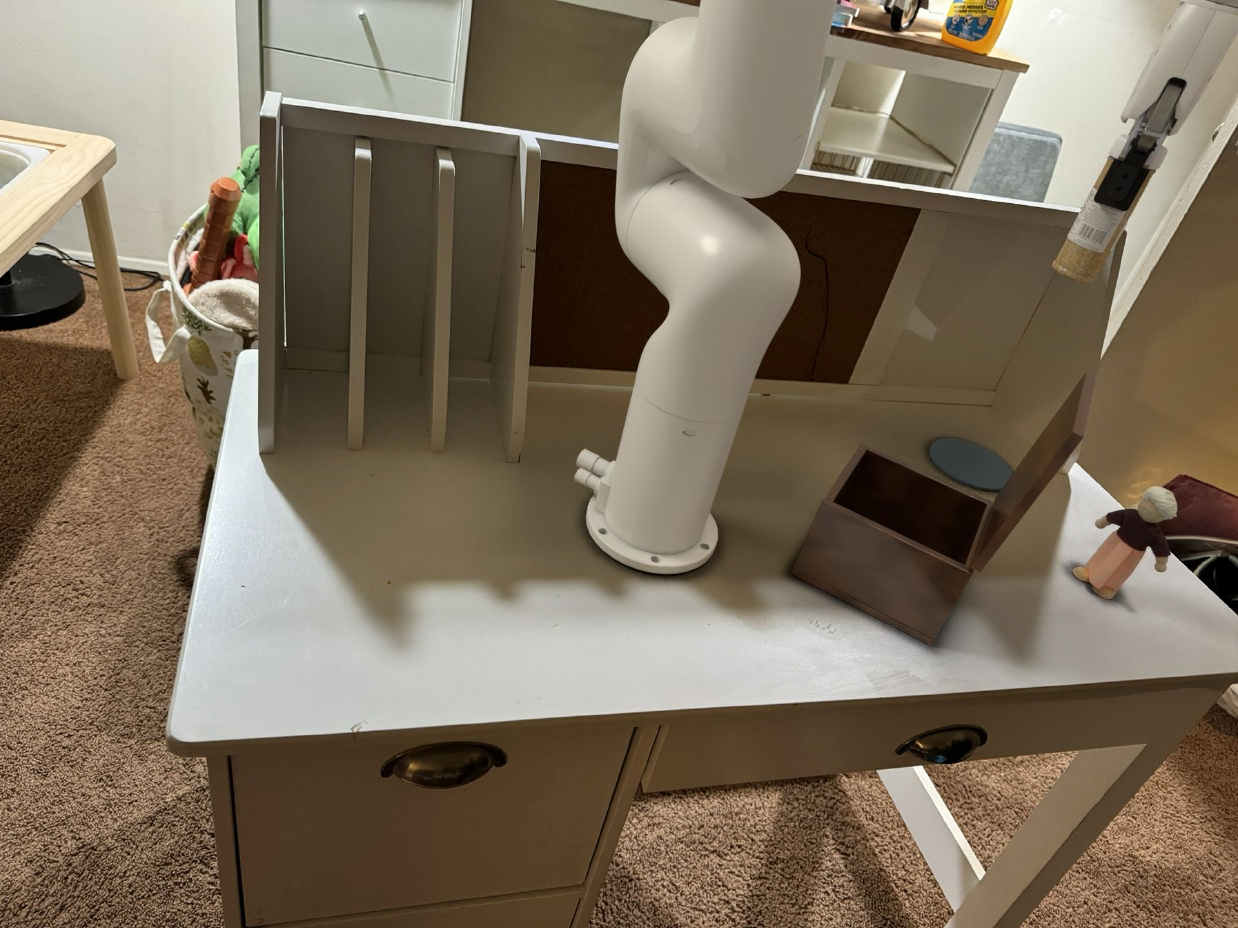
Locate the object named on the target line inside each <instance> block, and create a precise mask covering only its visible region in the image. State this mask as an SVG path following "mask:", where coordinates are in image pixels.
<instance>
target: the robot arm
mask: <svg viewBox="0 0 1238 928" xmlns="http://www.w3.org/2000/svg"><path fill="white" fill-rule="evenodd" d="M1177 1H1178V2H1180V3H1179V5H1178V7H1176V10H1175V11H1174V13H1173V15H1172V17H1171V18H1170V20H1169V22H1168V23H1167V25H1166V26H1165V29H1164V30H1163V32H1162V33H1161V36H1160V37H1159V40H1158V41H1157V43H1156V45H1155V47H1154V49H1153V50H1152V53H1151V54H1150V57H1149V58H1148V60H1147V62H1146V64H1145V66H1144V68H1143V71H1142V72H1141V73H1140V76H1139V77H1138V80H1137V82H1136V83H1135V86H1134V88H1133V90H1132V92H1131V94H1130V96H1129V98H1128V100H1127V102H1126V103H1125V106H1124V107H1123V110H1122V112H1121V115H1120V120H1121V122H1122V123H1123V124H1126V123H1127V122H1128V121H1129V119H1131V120H1134V122H1133V125H1132V127H1131V129H1130V131H1129V132H1128V133H1127V135H1130V136H1129V138H1128V140H1127V141H1126V143H1125V145H1124V147H1123V149H1122V151H1121V153H1120V155H1119V157H1118V159H1116V158H1114V160H1113V162H1112V164H1111V166H1110V168H1109V169H1108V171H1107V173H1106V175H1105V177H1104V179H1103V181H1102V183H1101V185H1100V187H1099V188H1098V190H1097V192H1096V194H1095V196H1094V201H1095V202H1097V203H1100V204H1103V205H1106V206H1109V207H1112V208H1115V209H1118V210H1121V211H1127V210H1128V209H1129V208H1130V206H1131V204H1132V202H1133V201H1134V199H1135V197H1136V195H1137V193H1138V192H1139V190H1140V188H1141V186H1142V184H1143V183H1144V181H1145V179H1146V177H1147V175H1148V174H1149V172H1150V169H1149V167H1150V165H1151V163H1152V162H1153V160H1154V158H1155V156H1156V154H1157V152H1158V150H1159V148H1160V147H1161V145H1162V146H1163V143H1164V141H1165V139H1167V137H1172V136H1175V135H1177V134H1178V132H1179V131H1180V130H1181V128H1182V127H1183V125H1184V123H1185V122H1186V121H1187V119H1188V118H1189V116H1190V115H1191V113H1192V111H1194V108H1195V107H1196V106H1197V103H1198V102H1199V100H1200V99H1201V97H1202V95H1203V94H1204V93H1205V91H1206V89H1207V87H1209V84H1210V83H1211V81H1212V80H1213V78H1214V76H1215V74H1216V72H1217V70H1218V69H1219V67H1220V65H1221V64H1222V62H1223V60H1224V58H1225V57H1226V55H1227V53H1228V52H1229V50H1230V48H1231V47H1232V44H1233V43H1234V41H1235V39H1236V37H1237V36H1238V0H1177ZM837 4H838V0H700V4H699V9H698V15H697V16H683V17H678V18H675V19H672V20H670V21H668V22H666V23H664V24H662V25H661V26H659V27H658V28H656V29H655V30H654V31H653V32H651V33H650V35H649V36H647V38H646V39H645V40H644V42H643V43H642V44H641V46H640V47H639V48H638V50H637V52H636V53H635V55H634V57H633V59H632V61H631V63H630V66H629V69H628V71H627V75H626V77H625V80H624V85H623V88H622V94H621V102H620V104H621V105H620V114H619V131H618V144H617V145H618V148H617V163H616V165H617V166H616V179H615V180H616V181H615V199H614V200H615V202H614V218H615V228H616V229H615V230H616V235H617V238H618V243H619V245H620V247H621V249H622V251H623V253H624V254H625V256H626V257H627V259H628V260H629V261H630V262H631V263H632V264H633V266H634V267H635V268H637V270H638V271H639V272H640V273H641V274H642V275H644V276H645V278H646V279H648V280H649V281H650V282H651V284H653V285H654V286H655V287H656V288H657V290H658V291H659V292H660V294H662V295H663V296H664V297H665V299H667V301H668V304H669V305H668V306H669V310H668V313H667V316H666V318H665V320H664V321H663V323H662V324H661V325H660V326H659V327H658V328H657V329H656V330H655V331H654V332H653V333H652V334H651V336H650V337H649V339H648V340H647V342H646V344H645V346H644V348H643V351H642V353H641V354H640V359H639V363H638V366H637V370H636V373H635V380H634V384H633V388H632V393H631V397H630V400H629V404H628V408H627V414H626V417H625V422H624V425H623V430H622V434H621V437H620V442H619V446H618V451H617V453H616V454H617V455H616V459H615V460H612V461H609V460H607V459H605V458H602V456H600V455H599V454H597V453H594V452H592V451H590V450H589V449H587V448H584V449H582V450H581V452H580V453H579V455H578V456H577V458H576V461H575V466H576V467H577V468H578V469H577V471H576V472H575V474H574V476H573V480H574V481H575V482H576V483H578V484H580V485H582V486H584V487H587V488H589V489H592V490H593V495H592V496H591V498H590V500H589V502H588V504H587V509H586V514H585V521H586V527H587V530H588V533H589V535H590V537H591V538H592V539H593V541H594V542H595V544H596V545H597V546H598V547H599V548H600V549H601V550H602V551H603V552H605V553H606V554H607V555H608V556H610V557H611V558H612V559H614V560H616V561H617V562H619V563H621V564H623V565H625V566H628V567H630V568H633V569H636V570H637V571H643V572H647V573H650V574H651V573H652V574H660V575H661V574H663V575H672V574H676V575H677V574H680V573H688V572H690V571H692V570H696V569H697V568H699V567H701V566H702V565H704V564H705V563H707V561H709V559H711V557H712V556H713V554H714V552H715V549H716V546H717V544H718V541H719V529H718V525H717V522H716V520H715V518H714V517H713V514H712V513H711V509H712V506H713V504H714V500H715V497H716V494H717V492H718V488H719V486H720V483H721V480H722V477H723V474H724V470H725V468H726V465H727V461H728V459H729V455H730V452H731V450H732V446H733V444H734V441H735V438H736V435H737V431H738V429H739V426H740V423H741V420H742V417H743V413H744V411H745V408H746V404H747V401H748V399H749V395H750V392H751V389H752V386H753V384H754V381H755V378H756V375H757V372H758V370H759V367H760V365H761V364H762V361H763V359H764V356H765V355H766V352H767V350H768V348H769V345H770V344H771V342H772V341H773V338H774V336H775V335H776V333H777V332H778V330H779V328H780V327H781V325H782V323H783V321H784V320H785V318H786V317H787V315H788V313H789V311H790V310H791V307H792V306H793V304H794V301H795V299H796V297H797V295H798V291H799V289H800V283H801V272H802V271H801V263H800V259H799V256H798V252H797V250H796V248H795V245H794V244H793V242H792V240H791V239H790V238H789V236H788V234H786V232H785V231H784V230H783V229H782V228H781V226H780V225H778V224H777V223H776V222H775V221H774V220H773V219H771V217H770V216H768V215H767V214H766V213H764V212H763V211H761V210H760V209H758V208H757V207H756V206H754V205H752V204H751V203H750V202H749V201H747V200H746V199H759V198H760V199H761V198H765V197H769V196H773V195H774V194H776V193H778V192H779V191H780V190H782V189H783V188H784V187H785V186H787V184H789V182H790V181H791V180H792V179H793V177H794V176H795V174H796V173H797V171H798V169H799V167H800V165H801V163H802V161H803V157H804V156H805V152H806V149H807V146H808V142H809V139H810V133H811V128H812V125H813V120H814V115H815V110H816V104H817V99H818V93H819V88H820V85H821V80H822V74H823V70H824V69H823V68H824V64H825V59H826V55H827V48H828V43H829V39H830V34H831V28H832V24H833V20H834V15H835V13H836V8H837ZM1131 145H1132V146H1131ZM1130 147H1131V148H1130ZM1129 149H1130V150H1129ZM1128 151H1129V152H1128ZM1123 160H1124V161H1123ZM744 198H745V199H744Z"/></svg>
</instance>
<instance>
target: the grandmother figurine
mask: <svg viewBox="0 0 1238 928" xmlns="http://www.w3.org/2000/svg"><path fill="white" fill-rule="evenodd" d="M1177 512H1178V503H1177V500H1176V498H1175V493H1173V492H1172V491H1170V490H1169V489H1167V488H1164V487H1163V486H1159V485H1158V486H1157V485H1154V486H1151V487H1148V488H1147V489H1146V490H1145V491H1144V492H1143V493H1142V498H1141V501H1140V502H1139V503H1138V505H1137V509H1136V508H1122V509H1118V510H1113V511H1110V512H1108V513H1107V514H1105V515H1103V516H1102V517H1100V518H1097V519H1096V520H1095V522H1094V526H1095V528H1097V529H1100V530H1103V529H1106V527H1109V526H1111V525H1116V526H1118V528H1117V529H1115V530H1114V531H1112V532H1111V533H1110V534H1109V535H1108V536H1107V537H1106V538H1105V540H1104V541H1103V542H1102V544H1101V545H1100V546H1099V547H1098V549H1096V551H1095V552H1094V553H1093V554H1092V555H1091V556H1090V558H1089V559H1088V560H1087V562H1086V563H1085V566H1076V567H1074V568H1073V569H1072V570H1071V571H1072V575H1074V577H1076V578H1077V580H1079V581H1081V582H1085V583H1090V584H1091V585H1092V591H1093V592H1094V593H1095V594H1097V595H1098V596H1099V597H1101V598H1102V599H1105V600H1111V599H1113V598H1114V597H1115V596H1116V595H1117V591H1118V590H1119V589H1120V588H1121V587H1122V586H1123V584H1124V583H1125V582H1126V581H1127V580H1128V579H1129V578H1130V576H1131V575H1132V574H1133V573H1134V571H1135V570H1136V569H1137V567H1138V565H1139V564H1140V563H1141V561H1142V560H1143V558H1144V556H1145V554H1146V552H1147V549H1148V547H1149V549H1151V552H1152V554H1153V556H1154V557H1155V559H1154V560H1155V563H1154V565H1153V567H1154V570H1155V571H1156V572H1158V573H1165V572H1166V571H1167V569H1168V566H1167V564H1168V562H1169V557H1170V556H1171V555H1172V551H1171V549H1170V546H1169V542H1168V540H1167V538H1166V536H1165V533H1164V532H1163V531H1162V529H1161V527H1160V526H1159V524H1158V523H1161V522H1163V521H1166V520H1172V519H1174V518H1177Z"/></svg>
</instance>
